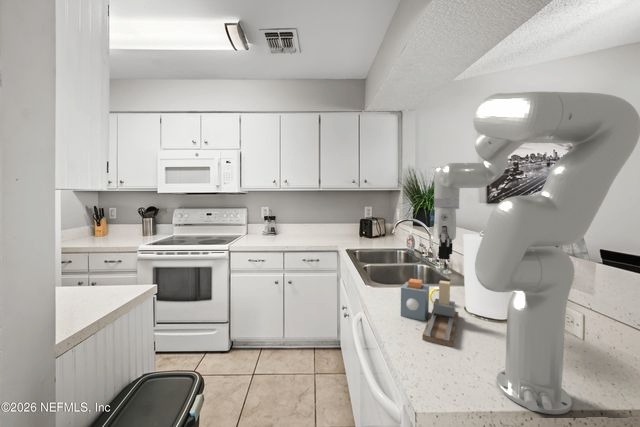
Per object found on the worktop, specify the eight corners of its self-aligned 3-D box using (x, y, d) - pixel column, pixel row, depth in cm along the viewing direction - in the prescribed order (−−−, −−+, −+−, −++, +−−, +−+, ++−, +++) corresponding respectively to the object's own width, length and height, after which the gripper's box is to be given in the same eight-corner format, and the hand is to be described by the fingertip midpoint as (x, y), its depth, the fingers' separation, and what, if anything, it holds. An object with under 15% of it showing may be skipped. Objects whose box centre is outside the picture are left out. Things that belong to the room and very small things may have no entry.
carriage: (453, 316, 90) (453, 286, 90) (433, 313, 93) (433, 283, 93) (454, 310, 96) (455, 281, 95) (435, 306, 99) (436, 278, 98)
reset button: (420, 291, 97) (420, 283, 96) (408, 289, 98) (408, 281, 98) (422, 288, 100) (422, 280, 100) (410, 286, 102) (410, 278, 102)
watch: (431, 304, 109) (430, 289, 109) (428, 302, 112) (427, 287, 112) (446, 303, 109) (446, 288, 109) (443, 301, 112) (443, 286, 112)
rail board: (452, 346, 78) (453, 337, 78) (422, 339, 82) (422, 330, 82) (458, 316, 98) (458, 308, 98) (433, 311, 102) (433, 304, 102)
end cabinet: (424, 321, 94) (425, 291, 93) (400, 316, 98) (400, 288, 97) (428, 312, 101) (429, 284, 101) (405, 308, 105) (406, 281, 105)
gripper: (457, 205, 83) (456, 262, 84) (460, 204, 98) (459, 253, 99) (430, 205, 87) (429, 260, 88) (437, 204, 102) (436, 251, 103)
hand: (445, 256), depth 93 cm, fingers open, 9 cm apart
